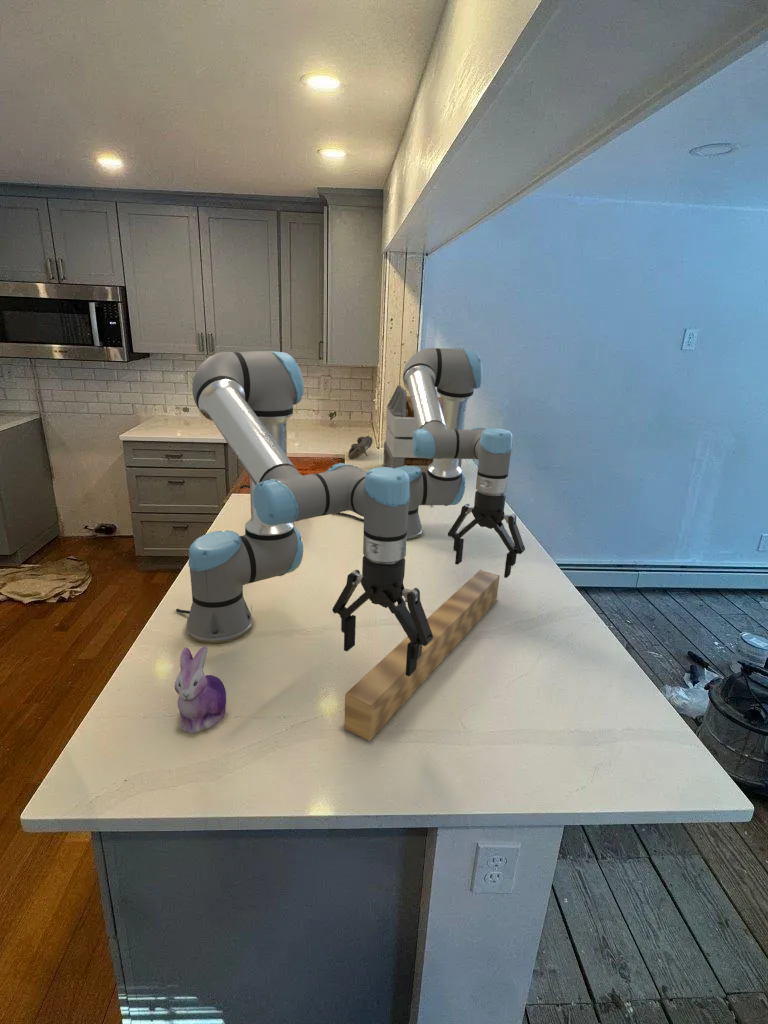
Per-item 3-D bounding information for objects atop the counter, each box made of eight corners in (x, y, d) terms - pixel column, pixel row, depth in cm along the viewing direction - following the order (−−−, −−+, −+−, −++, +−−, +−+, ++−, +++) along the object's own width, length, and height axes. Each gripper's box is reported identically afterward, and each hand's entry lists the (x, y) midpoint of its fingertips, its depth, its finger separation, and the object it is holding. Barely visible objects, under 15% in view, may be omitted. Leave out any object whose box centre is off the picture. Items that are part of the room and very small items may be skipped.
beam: (477, 595, 159) (480, 569, 156) (496, 601, 156) (499, 575, 154) (344, 728, 107) (344, 693, 104) (369, 741, 104) (371, 705, 101)
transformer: (382, 463, 289) (386, 382, 275) (445, 464, 293) (451, 384, 279) (390, 482, 257) (394, 392, 243) (460, 483, 261) (468, 394, 247)
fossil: (348, 442, 312) (369, 426, 307) (359, 455, 315) (380, 440, 310) (341, 456, 292) (364, 439, 287) (353, 470, 295) (376, 454, 290)
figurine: (181, 742, 101) (174, 672, 96) (173, 708, 110) (166, 641, 105) (234, 727, 105) (230, 658, 100) (222, 695, 114) (218, 630, 109)
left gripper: (314, 546, 102) (314, 647, 109) (438, 583, 90) (429, 694, 97) (338, 533, 108) (337, 630, 115) (458, 567, 96) (448, 672, 104)
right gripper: (439, 485, 144) (433, 562, 151) (535, 505, 132) (524, 587, 139) (451, 479, 150) (445, 553, 157) (544, 497, 138) (533, 576, 145)
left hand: (379, 659), depth 106 cm, fingers open, 13 cm apart
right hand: (482, 569), depth 148 cm, fingers open, 13 cm apart
